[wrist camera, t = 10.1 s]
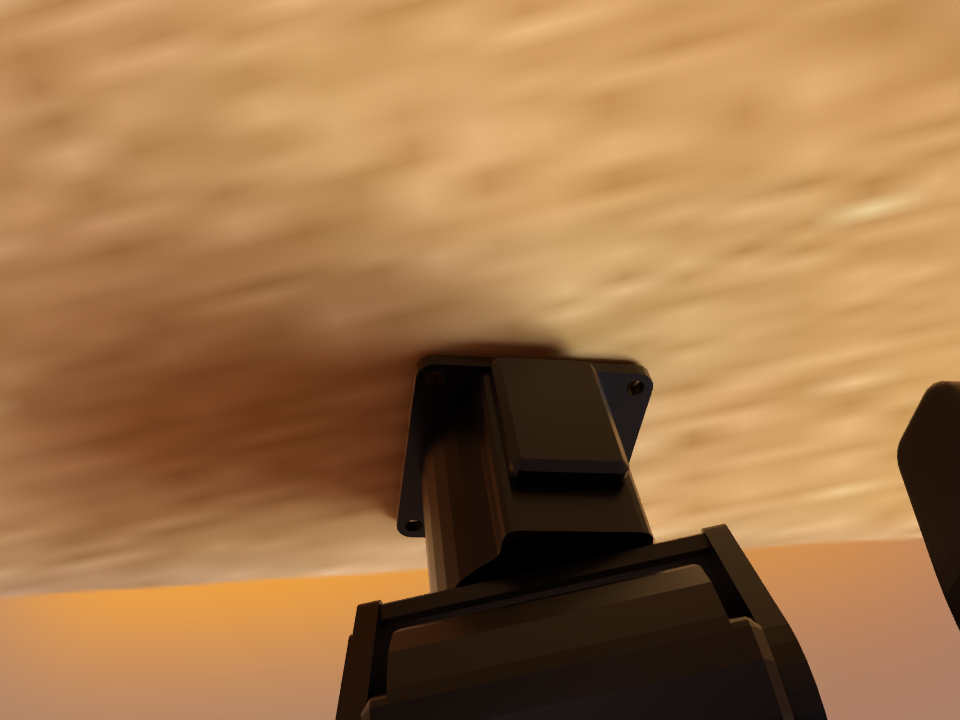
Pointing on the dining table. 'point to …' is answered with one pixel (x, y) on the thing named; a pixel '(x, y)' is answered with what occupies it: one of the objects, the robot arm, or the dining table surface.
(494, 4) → the dining table surface
